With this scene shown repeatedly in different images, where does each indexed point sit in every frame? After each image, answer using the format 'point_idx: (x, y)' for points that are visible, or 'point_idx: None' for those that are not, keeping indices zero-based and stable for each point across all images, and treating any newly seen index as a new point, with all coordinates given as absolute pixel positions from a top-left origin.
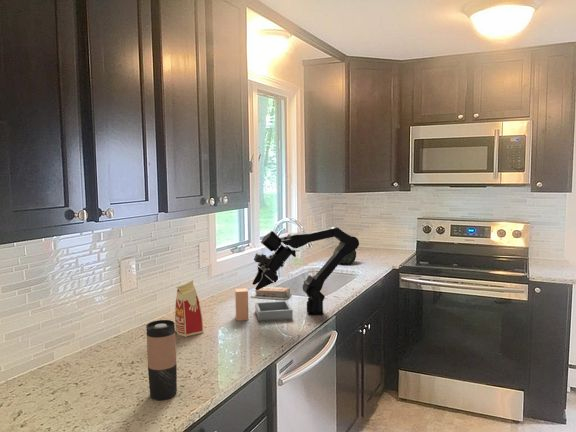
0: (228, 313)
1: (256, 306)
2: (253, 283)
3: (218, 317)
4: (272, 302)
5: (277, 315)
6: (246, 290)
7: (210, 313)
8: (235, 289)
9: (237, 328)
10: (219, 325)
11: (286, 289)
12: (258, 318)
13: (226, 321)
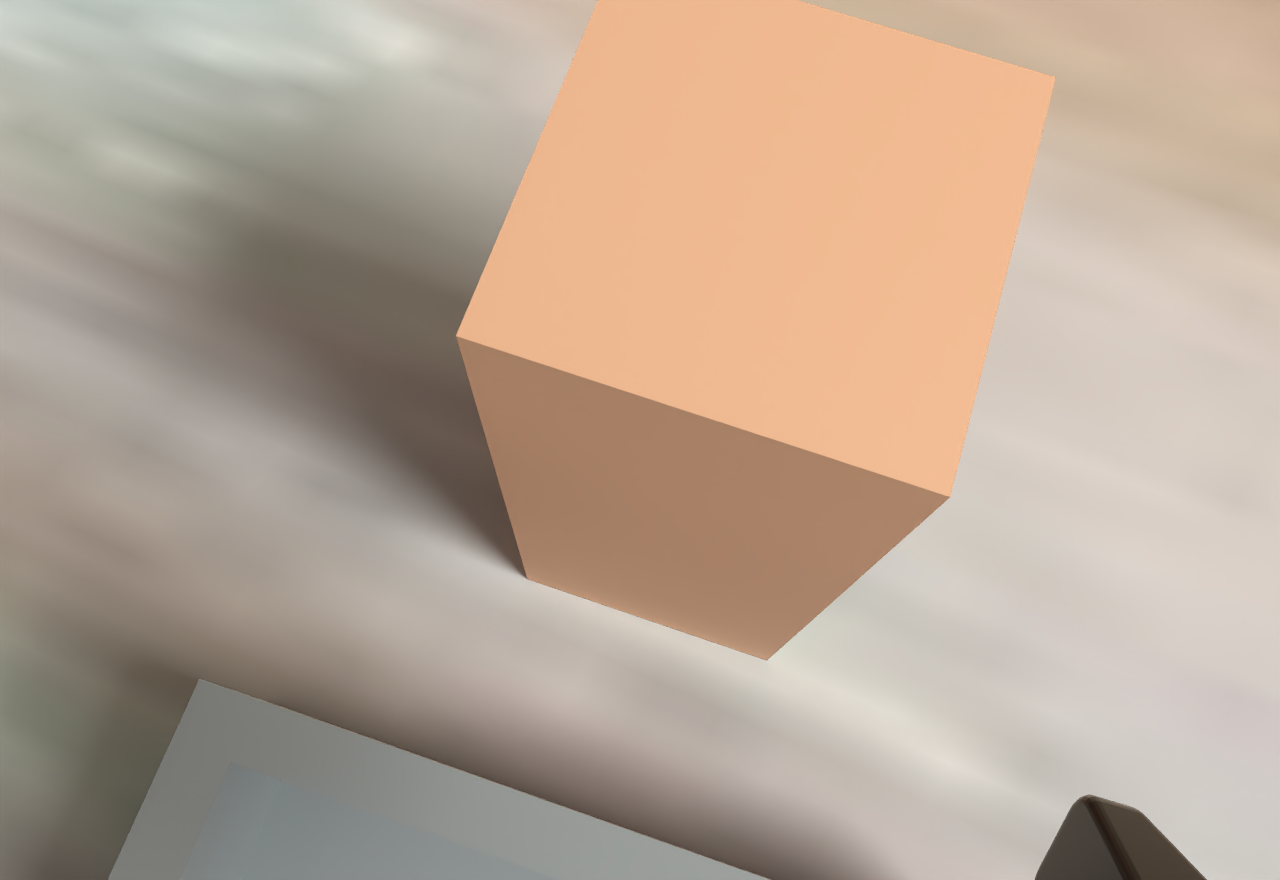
0: (1111, 395)
1: (703, 856)
2: (1073, 853)
3: None
4: None
5: None
6: (609, 338)
7: (1243, 129)
8: (974, 63)
9: (182, 210)
10: (512, 35)
11: None
12: (309, 716)
13: None
